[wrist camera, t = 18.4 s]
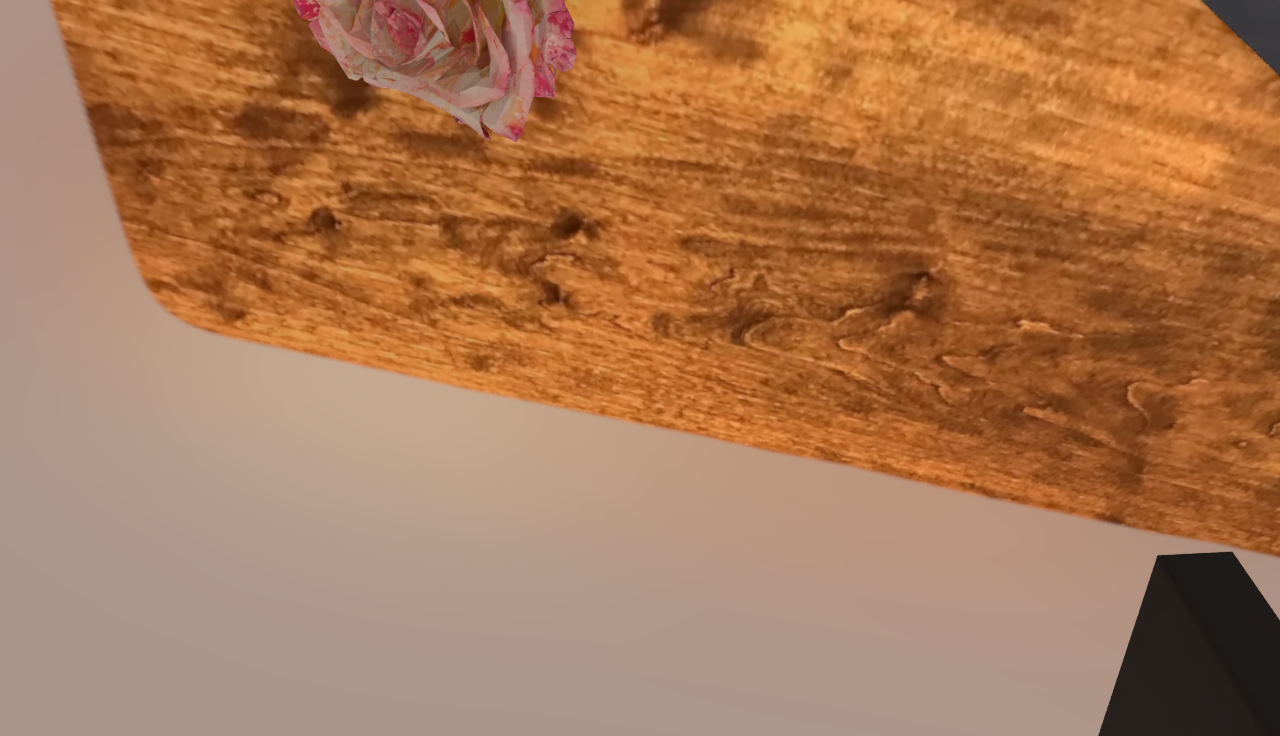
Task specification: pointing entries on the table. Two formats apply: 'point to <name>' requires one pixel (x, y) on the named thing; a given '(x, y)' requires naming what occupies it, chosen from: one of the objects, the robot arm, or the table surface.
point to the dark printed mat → (1253, 25)
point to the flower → (452, 52)
